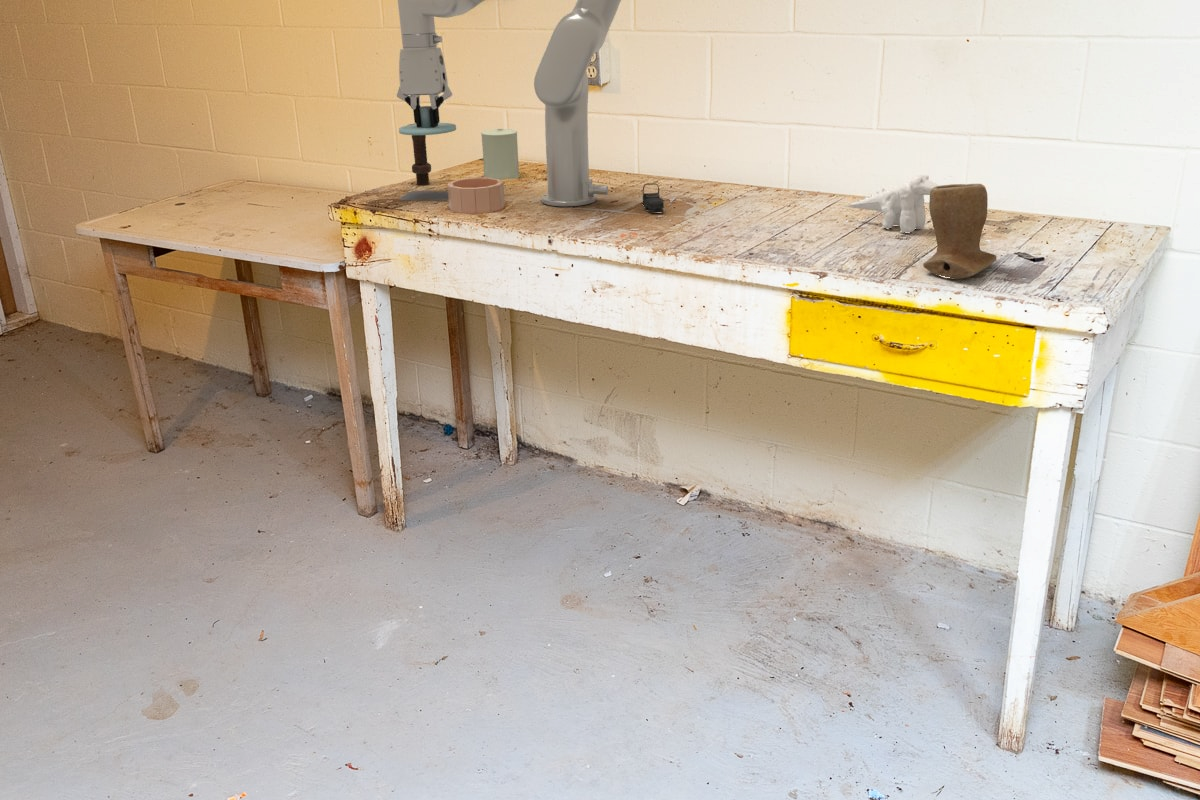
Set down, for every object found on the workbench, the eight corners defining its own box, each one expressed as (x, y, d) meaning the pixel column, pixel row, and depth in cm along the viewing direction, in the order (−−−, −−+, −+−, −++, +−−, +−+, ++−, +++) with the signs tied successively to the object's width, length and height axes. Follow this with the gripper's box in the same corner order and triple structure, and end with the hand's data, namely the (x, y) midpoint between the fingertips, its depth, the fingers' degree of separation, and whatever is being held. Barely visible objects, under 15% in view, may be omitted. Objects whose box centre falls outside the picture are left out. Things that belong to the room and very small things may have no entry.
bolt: (431, 188, 257) (425, 126, 251) (411, 189, 257) (405, 126, 252) (435, 183, 263) (430, 122, 257) (415, 184, 263) (409, 123, 257)
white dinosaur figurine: (943, 237, 199) (944, 179, 196) (835, 230, 216) (834, 176, 212) (961, 230, 204) (962, 173, 200) (853, 224, 220) (853, 171, 217)
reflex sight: (647, 215, 226) (647, 192, 224) (641, 205, 236) (641, 183, 234) (665, 215, 226) (665, 192, 224) (658, 204, 236) (658, 182, 234)
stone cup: (937, 255, 192) (946, 173, 186) (1003, 265, 185) (1014, 180, 179) (903, 274, 181) (911, 188, 175) (971, 286, 174) (982, 196, 168)
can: (520, 173, 272) (517, 126, 268) (519, 180, 264) (517, 132, 259) (484, 174, 272) (481, 127, 267) (483, 181, 263) (479, 133, 259)
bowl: (509, 204, 239) (508, 177, 237) (495, 216, 228) (494, 189, 226) (459, 203, 241) (457, 177, 239) (443, 215, 230) (441, 188, 228)
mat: (459, 193, 251) (459, 191, 250) (447, 203, 242) (446, 200, 241) (412, 193, 253) (412, 190, 253) (397, 202, 244) (397, 199, 244)
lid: (463, 126, 245) (461, 102, 243) (445, 135, 233) (443, 110, 231) (410, 126, 247) (408, 103, 245) (390, 135, 235) (388, 111, 233)
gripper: (459, 39, 234) (466, 123, 242) (390, 41, 237) (400, 124, 245) (448, 42, 228) (456, 128, 235) (378, 44, 231) (388, 129, 238)
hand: (427, 125), depth 240 cm, fingers closed on lid, 2 cm apart
